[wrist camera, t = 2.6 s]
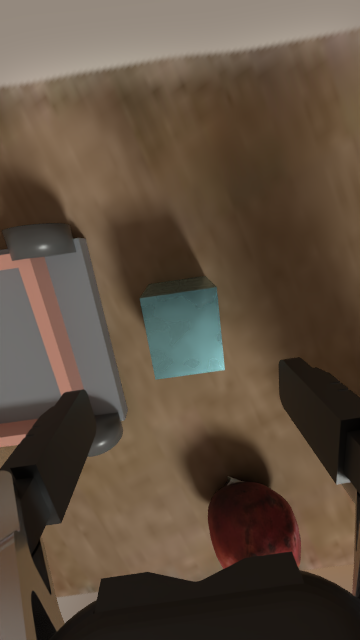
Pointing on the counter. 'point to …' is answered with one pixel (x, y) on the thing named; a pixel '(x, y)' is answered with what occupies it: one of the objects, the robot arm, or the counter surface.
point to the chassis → (53, 334)
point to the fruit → (251, 523)
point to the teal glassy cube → (183, 327)
